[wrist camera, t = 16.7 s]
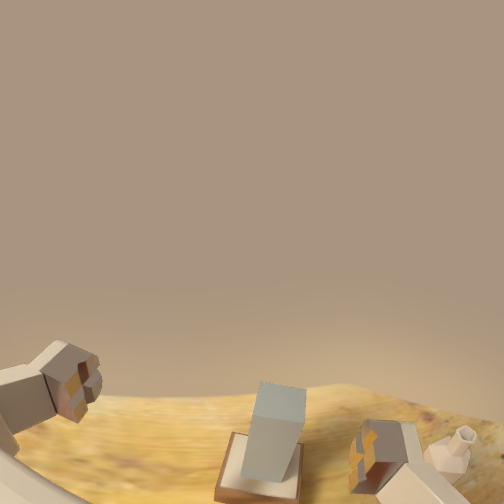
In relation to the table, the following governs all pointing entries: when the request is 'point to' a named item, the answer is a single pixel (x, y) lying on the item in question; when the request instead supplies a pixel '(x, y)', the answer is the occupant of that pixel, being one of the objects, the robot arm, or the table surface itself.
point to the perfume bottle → (451, 454)
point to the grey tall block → (273, 432)
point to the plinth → (251, 490)
